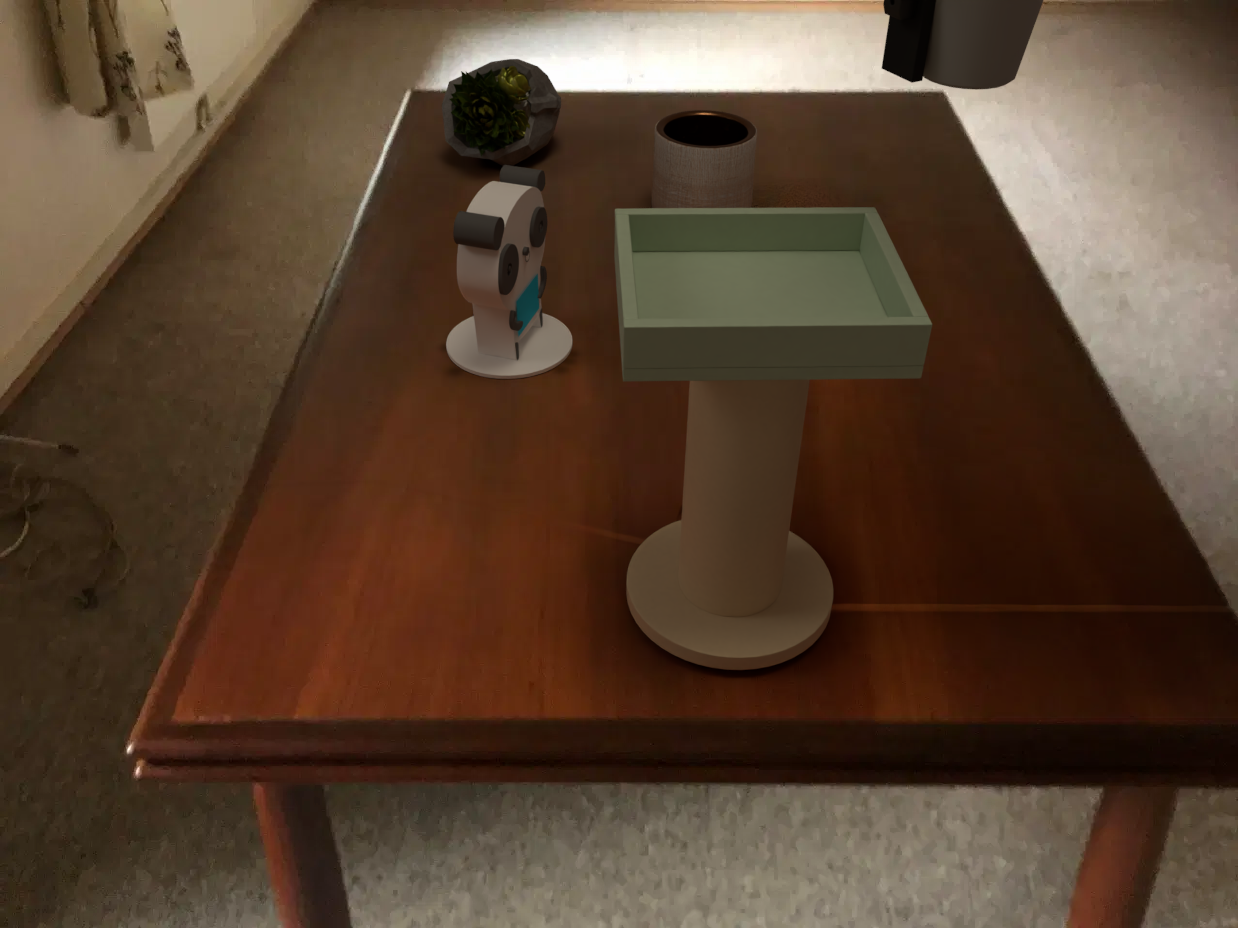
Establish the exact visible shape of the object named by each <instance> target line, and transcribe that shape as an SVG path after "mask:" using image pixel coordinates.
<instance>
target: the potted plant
mask: <svg viewBox="0 0 1238 928" xmlns="http://www.w3.org/2000/svg"><path fill="white" fill-rule="evenodd" d="M460 73H461V75H460V76H459V77H456V78H454V79H452V80H450V81H448V83H447V88H446V90H445V94H444V97H443V100H442V104H441V112H442V120H443V130H444V140H445V142H446V143H447V145H449V146H450V147H451V148H453V150H454V151H456V153H457V154H458V155H460V156H461V157H468V158H476V159H486V160H490V161H492V162H494V163H495V164H498V165H500V166H502V167H503V166H504V165H510V166H515V165H517V164H519V163H521V162H522V161H524V160H526V159H528V158H529V157H531V156H532V155H534V154H535V153H537V152H538V151H540V150H542V149H543V148H545V146H547V145H548V144H549V142H550V140H551V139H552V137H553V136H554V134H555V131H556V127H557V123H558V120H559V116H560V112H561V108H562V97H561V96H560V95H559V93H558V91H557V90H556V87H555V86H554V84H553V82H552V81H551V79H550V77H549V75H548V74H547V73H546V72H544V70H542V68H540V67H539V66H538V65H536V64H533V63H530V62H527V61H525V60H522V59H519V58H509V59H508V58H507V59H501V60H495V61H490V62H488V63H486V64H484V65H481V66H480V67H477V68H476V69H473V70H470V71H469V72H467V71H465V72H464V71H460Z"/></svg>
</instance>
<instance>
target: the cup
mask: <svg viewBox="0 0 1238 928" xmlns="http://www.w3.org/2000/svg"><path fill="white" fill-rule="evenodd" d="M1043 3H1044V0H936V4H935V10H934V16H933V21H932V27H931V33H930V39H929V44H928V50H927V56H926V62H925V68H924V73H923V78H924V79H926V80H927V81H928V82H931V83H934V84H936V85H940V86H943V87H944V86H945V87H949V88H954V89H961V90H991V89H997V88H1001V87H1004V86H1006V85H1007V84H1010V83H1011V82H1013V81H1014V80H1015V79H1016V78H1017V74H1018V72H1019V69H1020V66H1021V63H1022V62H1023V58H1024V55H1025V52H1026V50H1027V48H1028V44H1029V42H1030V39H1031V36H1032V34H1033V31H1034V28H1035V25H1036V22H1037V19H1038V17H1039V14H1040V11H1041V8H1042V6H1043Z"/></svg>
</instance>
